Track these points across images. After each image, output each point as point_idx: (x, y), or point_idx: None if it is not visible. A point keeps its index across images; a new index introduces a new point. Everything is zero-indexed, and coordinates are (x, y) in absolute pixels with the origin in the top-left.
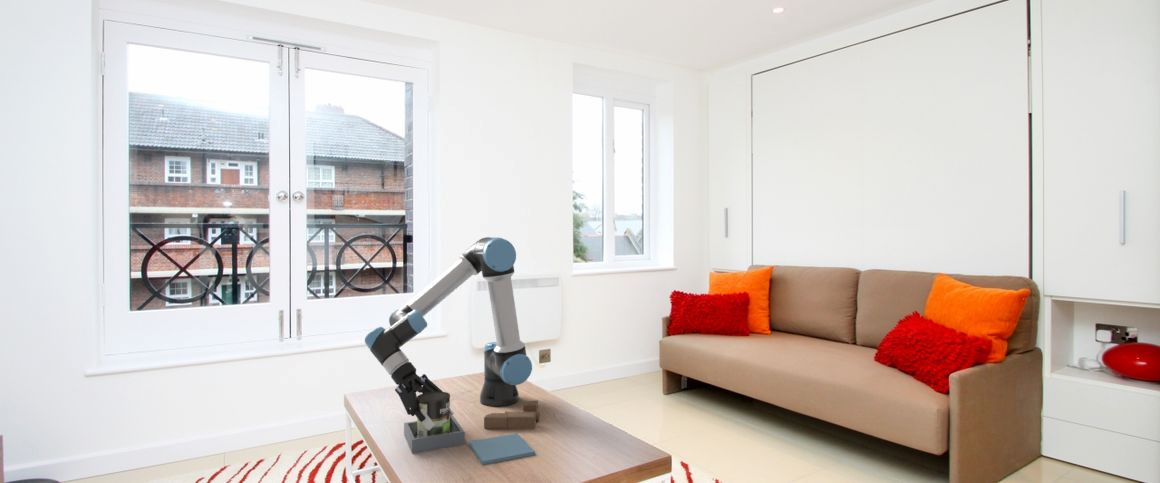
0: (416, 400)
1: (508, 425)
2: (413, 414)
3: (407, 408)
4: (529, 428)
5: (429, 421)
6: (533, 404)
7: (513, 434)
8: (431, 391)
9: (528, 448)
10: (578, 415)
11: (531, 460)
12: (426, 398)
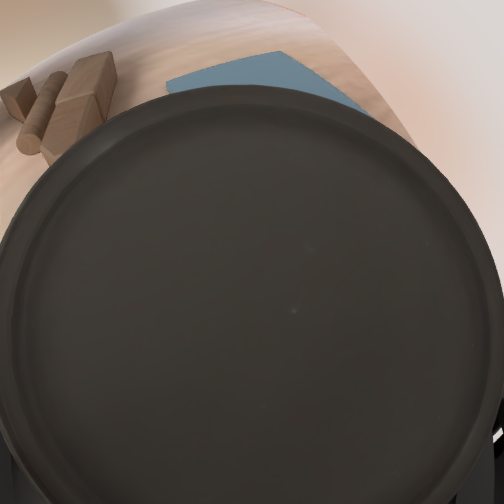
0: (475, 468)
1: (103, 110)
2: None
3: (501, 450)
4: (115, 82)
5: None
6: (23, 81)
7: (176, 85)
8: (12, 463)
9: (268, 57)
10: (58, 56)
11: (307, 61)
12: (426, 387)
